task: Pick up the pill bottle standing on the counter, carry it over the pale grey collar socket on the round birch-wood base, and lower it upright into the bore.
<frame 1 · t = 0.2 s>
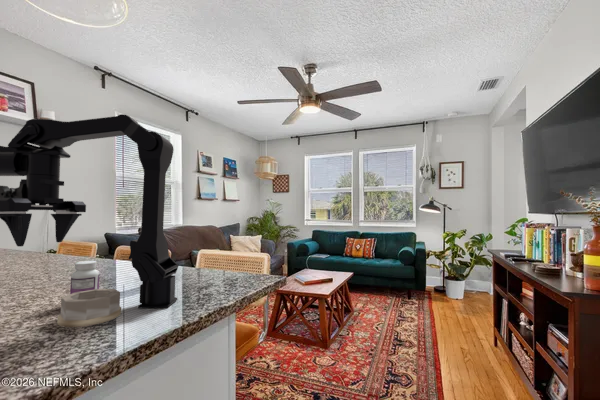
hand: (40, 244, 66), 14 cm above the counter, fingers open, 9 cm apart
socket base: (90, 317, 58), on the counter
pill bottle: (84, 305, 67), on the counter
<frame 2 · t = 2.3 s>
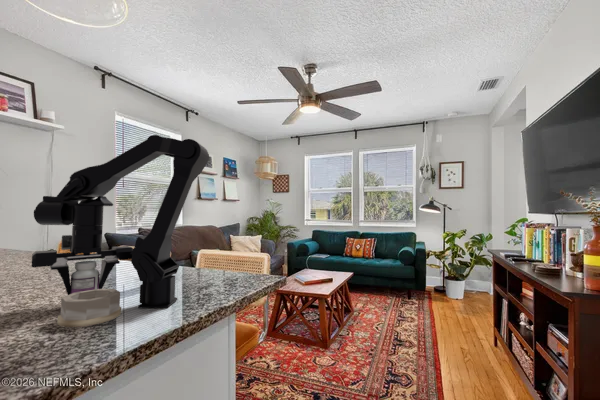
hand: (84, 293, 67), 3 cm above the counter, fingers closed on pill bottle, 5 cm apart
pill bottle: (84, 304, 67), on the counter, touching gripper
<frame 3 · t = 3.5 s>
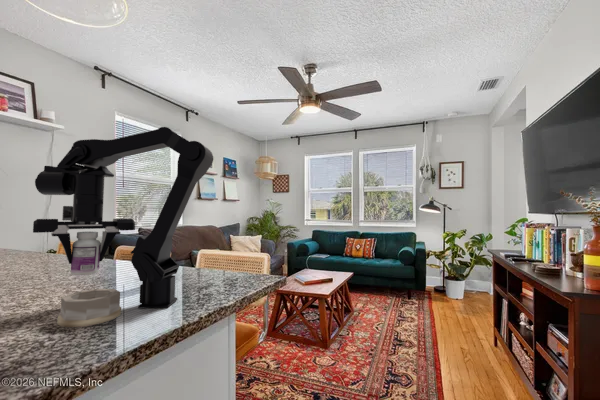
hand: (85, 262, 67), 10 cm above the counter, fingers closed on pill bottle, 5 cm apart
pill bottle: (84, 274, 67), point 7 cm above the counter, touching gripper
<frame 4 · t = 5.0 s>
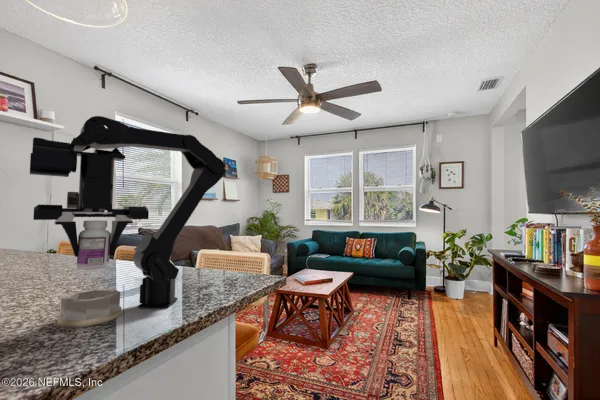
hand: (93, 255, 59), 12 cm above the counter, fingers closed on pill bottle, 5 cm apart
pill bottle: (92, 269, 59), point 10 cm above the counter, touching gripper
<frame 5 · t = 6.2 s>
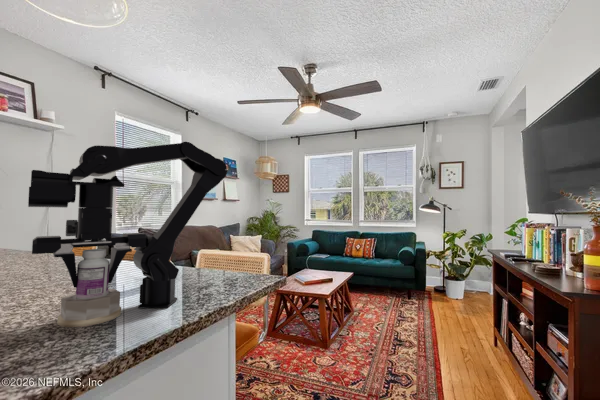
hand: (92, 284, 59), 6 cm above the counter, fingers closed on pill bottle, 5 cm apart
pill bottle: (91, 298, 58), point 4 cm above the counter, touching gripper
when the fingers open (5 cm above the counter, at t = 6.9 s): pill bottle drops 2 cm, resting on socket base.
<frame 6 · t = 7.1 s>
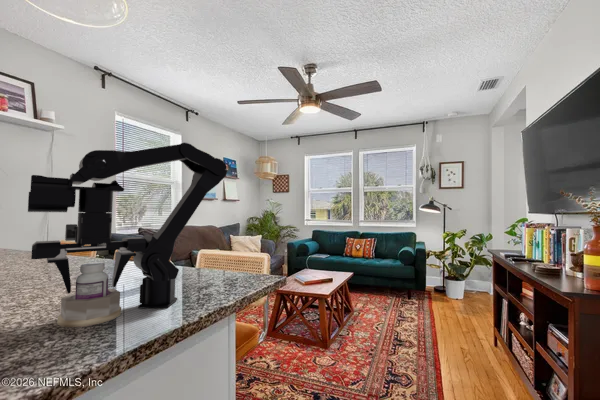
hand: (92, 289, 58), 5 cm above the counter, fingers open, 7 cm apart
pill bottle: (91, 313, 58), point 1 cm above the counter, touching socket base
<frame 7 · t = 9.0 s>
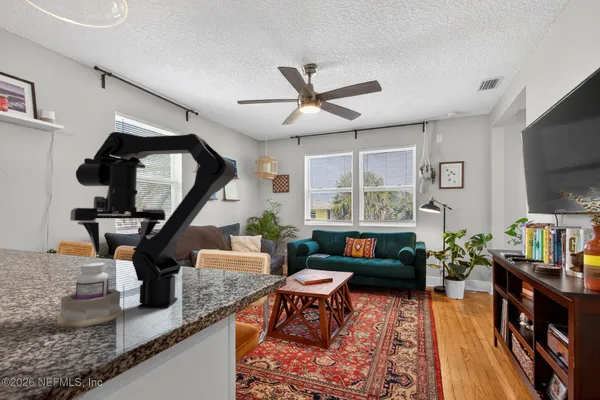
hand: (119, 250, 69), 12 cm above the counter, fingers open, 9 cm apart
nothing on the counter moved.
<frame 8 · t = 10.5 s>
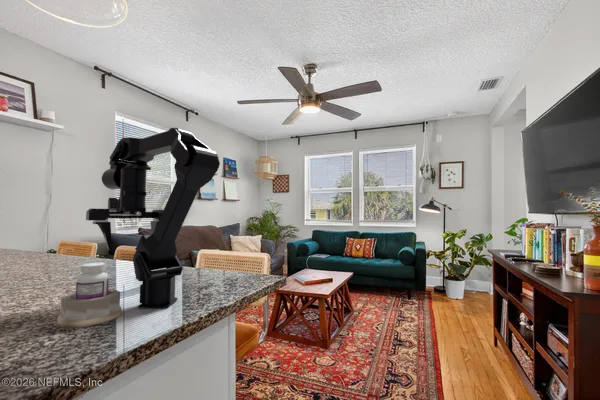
hand: (131, 248, 74), 12 cm above the counter, fingers open, 9 cm apart
nothing on the counter moved.
at the end: pill bottle 0.1 cm off-centre on the socket base, point 0.8 cm above the socket base's base; pill bottle tilted 0°; the gripper is holding nothing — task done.
